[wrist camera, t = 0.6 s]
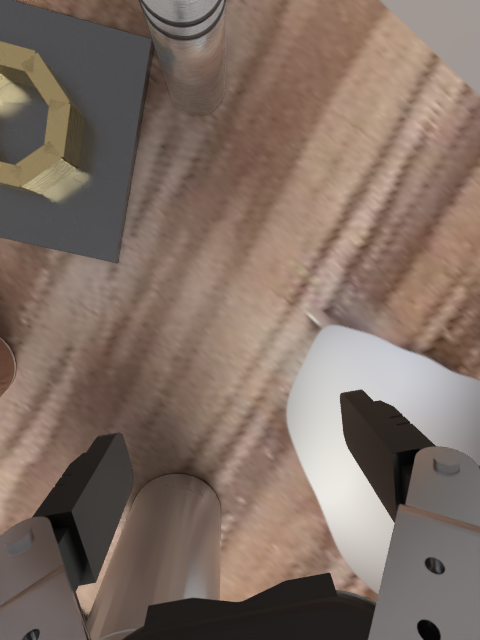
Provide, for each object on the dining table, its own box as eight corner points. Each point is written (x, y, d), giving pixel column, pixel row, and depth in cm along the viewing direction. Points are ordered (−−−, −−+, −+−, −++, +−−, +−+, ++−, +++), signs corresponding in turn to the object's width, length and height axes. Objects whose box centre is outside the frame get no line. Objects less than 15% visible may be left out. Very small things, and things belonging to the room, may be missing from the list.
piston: (219, 123, 27) (214, 13, 16) (162, 108, 27) (114, -17, 15) (231, 61, 27) (236, -103, 15) (173, 45, 26) (131, -137, 14)
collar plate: (118, 262, 29) (104, 262, 26) (-93, 215, 27) (-135, 209, 24) (153, 46, 26) (143, 14, 23) (-77, -19, 25) (-123, -62, 22)
